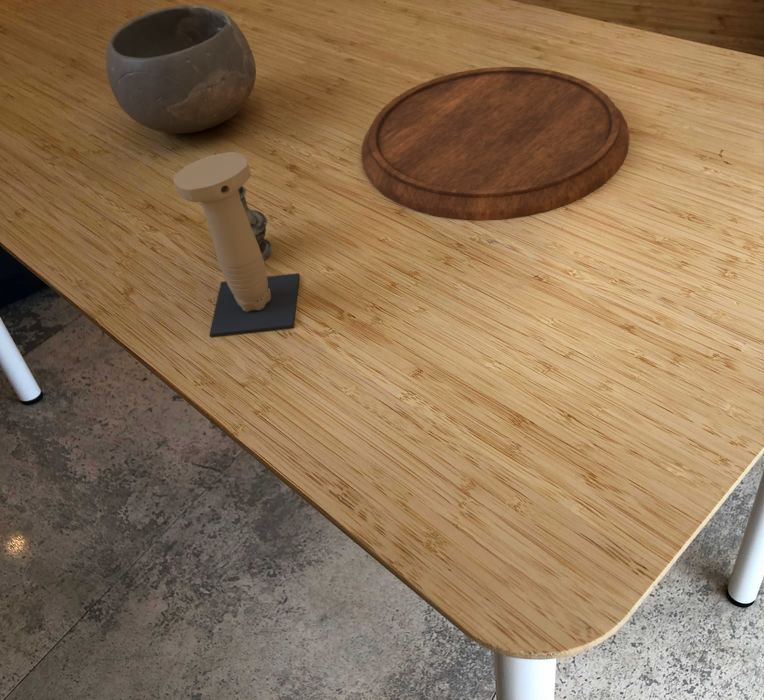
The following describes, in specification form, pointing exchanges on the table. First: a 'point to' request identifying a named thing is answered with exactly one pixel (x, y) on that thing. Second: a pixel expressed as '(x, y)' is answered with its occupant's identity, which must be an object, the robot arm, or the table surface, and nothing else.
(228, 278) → the handle
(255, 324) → the place mat
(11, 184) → the table surface
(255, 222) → the grey stone chess piece
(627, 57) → the table surface
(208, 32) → the bowl
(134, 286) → the table surface
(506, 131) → the cutting board
